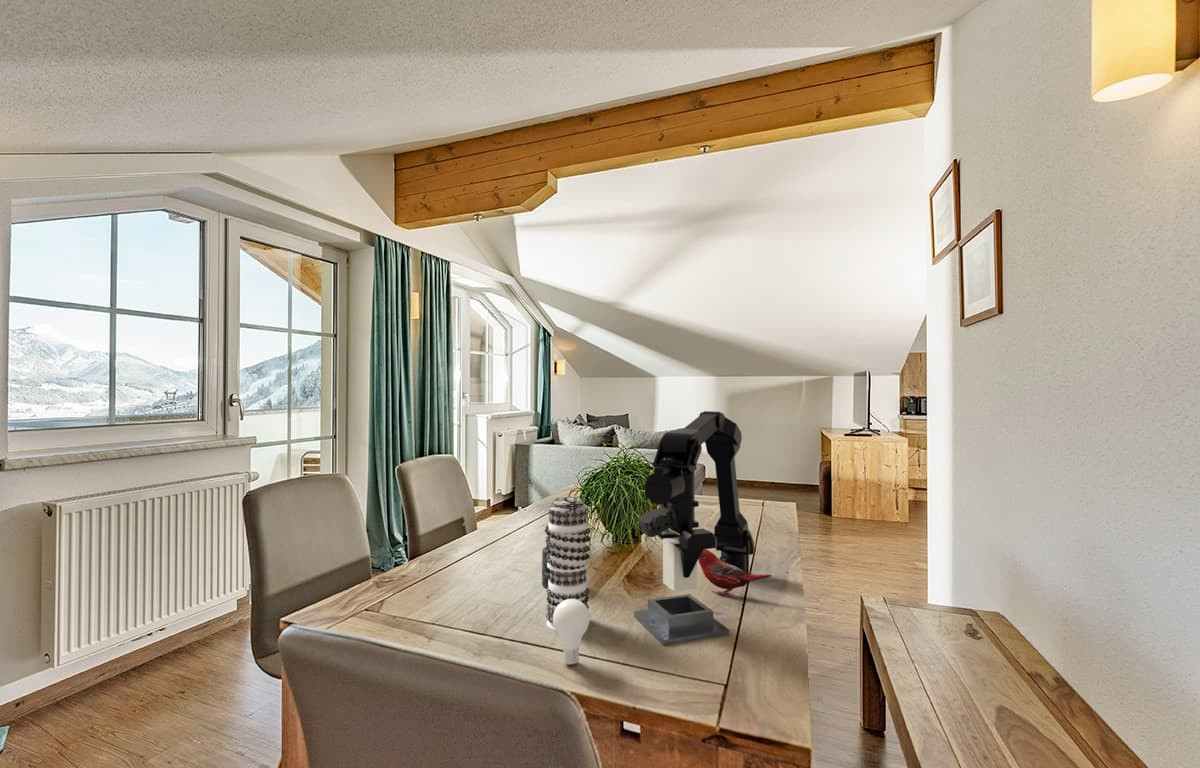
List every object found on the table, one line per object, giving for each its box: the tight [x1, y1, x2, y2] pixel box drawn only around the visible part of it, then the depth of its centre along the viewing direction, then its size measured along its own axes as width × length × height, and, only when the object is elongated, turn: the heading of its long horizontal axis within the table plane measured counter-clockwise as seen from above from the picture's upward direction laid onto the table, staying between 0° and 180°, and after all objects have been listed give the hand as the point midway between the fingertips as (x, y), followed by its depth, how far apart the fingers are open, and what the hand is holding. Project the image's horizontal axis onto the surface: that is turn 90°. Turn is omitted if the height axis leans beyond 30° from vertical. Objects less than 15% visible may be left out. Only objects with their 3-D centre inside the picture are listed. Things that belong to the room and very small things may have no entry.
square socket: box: [633, 593, 730, 646], centre depth 112 cm, size 14×14×4 cm
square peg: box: [662, 537, 698, 592], centre depth 112 cm, size 5×5×9 cm
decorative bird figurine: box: [697, 549, 773, 597], centre depth 127 cm, size 3×18×10 cm, turn 64°
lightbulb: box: [553, 599, 591, 666], centre depth 96 cm, size 6×6×11 cm
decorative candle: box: [544, 496, 592, 633], centre depth 113 cm, size 9×9×25 cm
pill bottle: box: [541, 542, 549, 589], centre depth 134 cm, size 6×6×11 cm
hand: (680, 573), depth 112 cm, fingers closed on square peg, 5 cm apart
